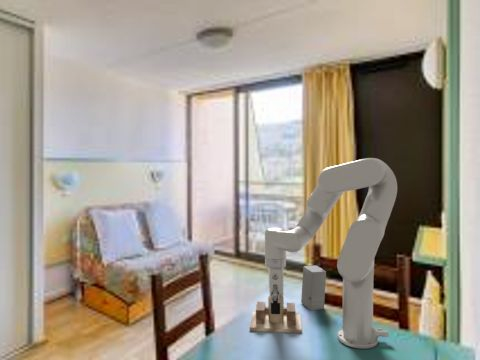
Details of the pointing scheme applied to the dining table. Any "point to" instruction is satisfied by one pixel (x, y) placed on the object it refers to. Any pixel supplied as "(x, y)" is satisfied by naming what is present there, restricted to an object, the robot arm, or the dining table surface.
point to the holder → (288, 325)
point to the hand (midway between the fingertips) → (275, 308)
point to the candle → (276, 317)
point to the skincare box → (313, 287)
